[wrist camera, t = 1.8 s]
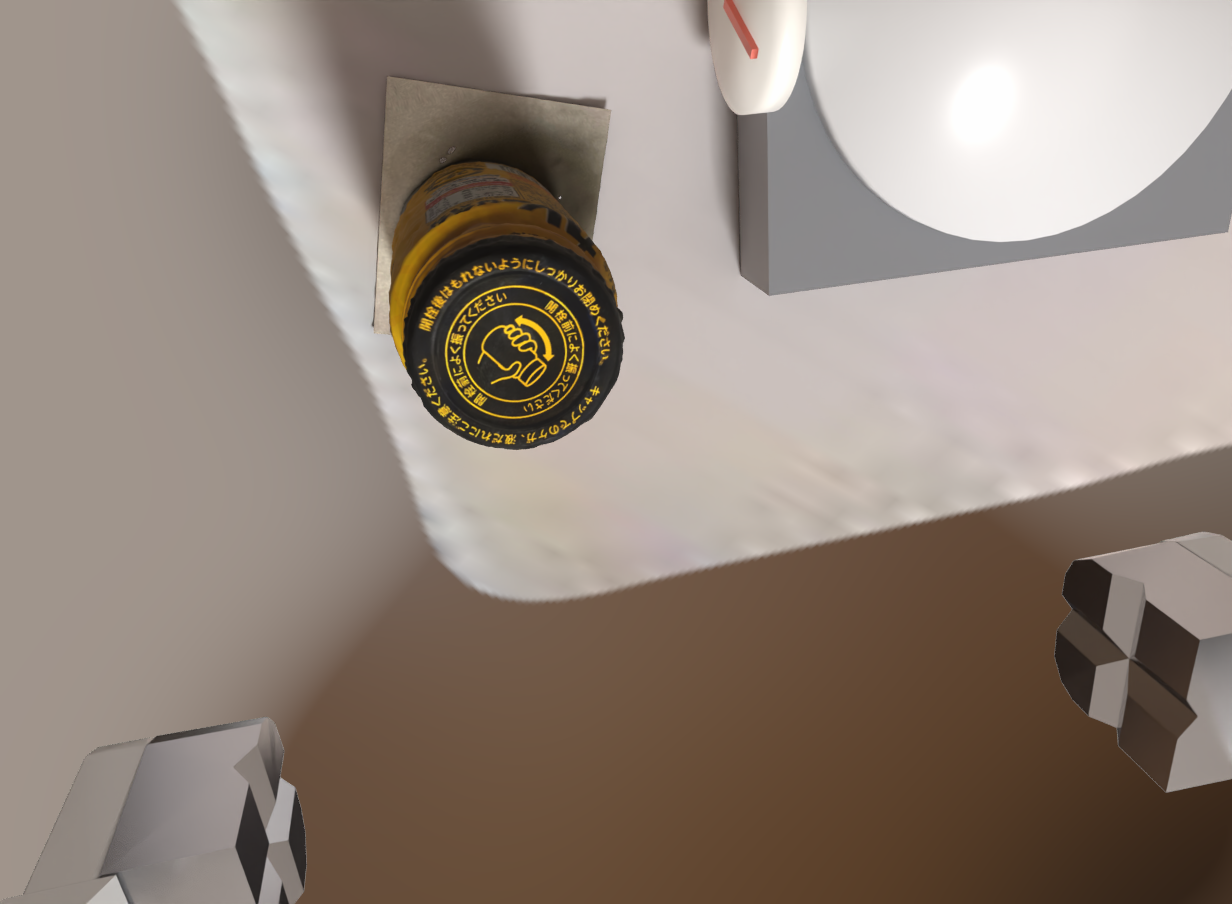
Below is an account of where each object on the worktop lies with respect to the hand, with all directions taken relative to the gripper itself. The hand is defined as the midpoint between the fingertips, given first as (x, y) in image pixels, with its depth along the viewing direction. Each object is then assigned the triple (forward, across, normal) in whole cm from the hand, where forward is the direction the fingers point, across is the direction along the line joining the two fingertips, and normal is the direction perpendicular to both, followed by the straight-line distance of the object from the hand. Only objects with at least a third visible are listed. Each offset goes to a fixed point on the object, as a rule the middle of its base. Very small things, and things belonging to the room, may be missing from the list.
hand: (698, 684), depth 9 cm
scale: (+25, -18, -6) cm, 32 cm away
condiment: (+26, 0, 0) cm, 26 cm away
